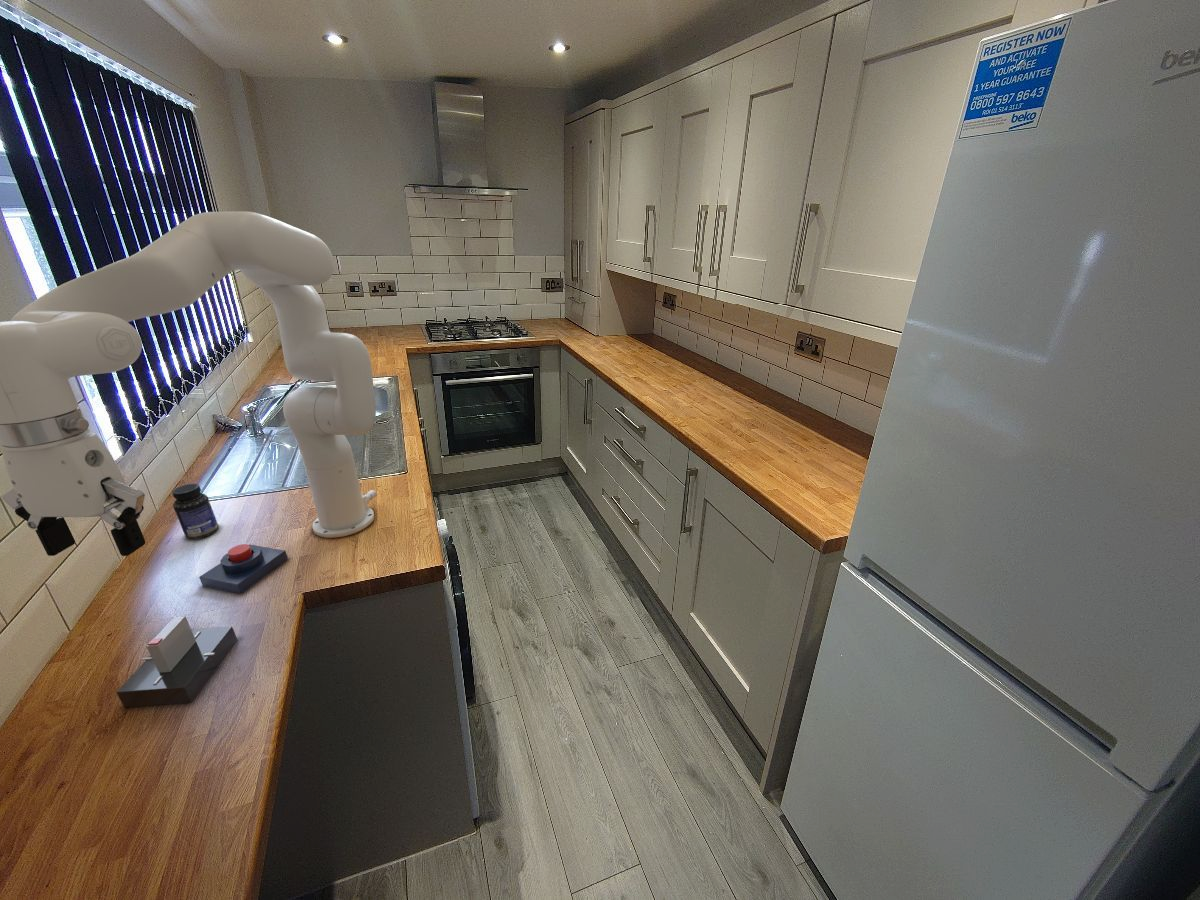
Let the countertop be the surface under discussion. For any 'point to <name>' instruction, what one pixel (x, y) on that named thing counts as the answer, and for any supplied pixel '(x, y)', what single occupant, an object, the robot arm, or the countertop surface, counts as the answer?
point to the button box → (243, 570)
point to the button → (240, 553)
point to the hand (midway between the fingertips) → (98, 550)
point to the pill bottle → (194, 512)
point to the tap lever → (171, 644)
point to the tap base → (179, 671)
